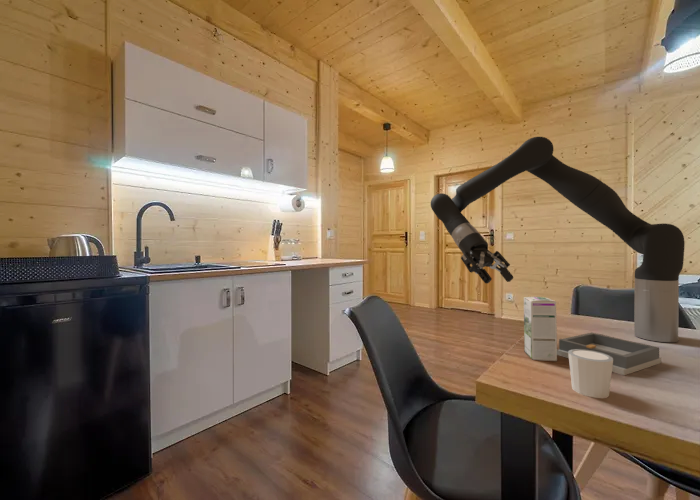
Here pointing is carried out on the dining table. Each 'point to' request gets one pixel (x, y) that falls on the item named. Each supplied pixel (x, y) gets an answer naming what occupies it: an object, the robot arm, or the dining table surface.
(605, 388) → the white cup
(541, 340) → the syrup box
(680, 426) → the dining table surface
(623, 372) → the pocket plate
